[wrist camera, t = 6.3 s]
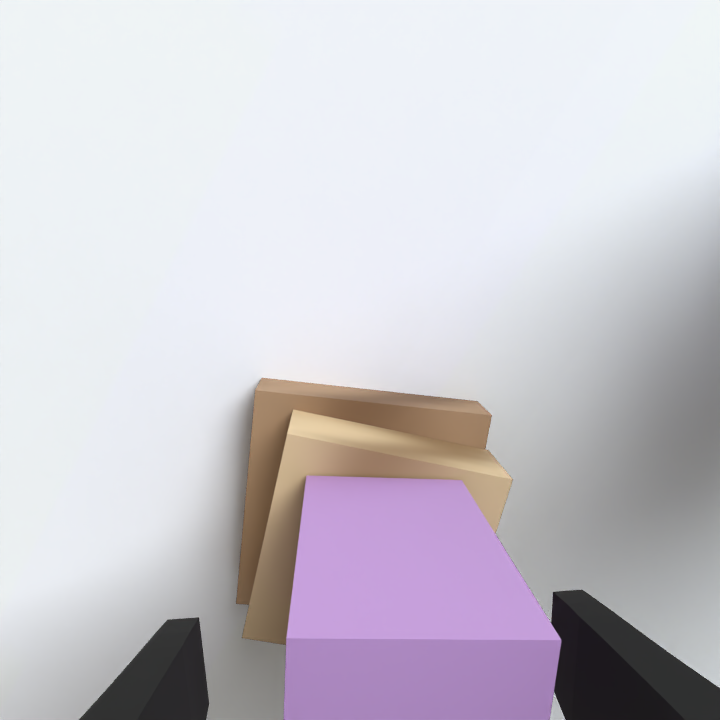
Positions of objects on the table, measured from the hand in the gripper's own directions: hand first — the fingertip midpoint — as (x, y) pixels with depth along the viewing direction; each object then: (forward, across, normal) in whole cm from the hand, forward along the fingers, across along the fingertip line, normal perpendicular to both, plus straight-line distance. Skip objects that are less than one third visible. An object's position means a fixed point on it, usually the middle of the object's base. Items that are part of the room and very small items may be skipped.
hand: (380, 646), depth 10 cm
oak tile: (+5, 0, 0) cm, 5 cm away
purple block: (+3, 0, 0) cm, 3 cm away
